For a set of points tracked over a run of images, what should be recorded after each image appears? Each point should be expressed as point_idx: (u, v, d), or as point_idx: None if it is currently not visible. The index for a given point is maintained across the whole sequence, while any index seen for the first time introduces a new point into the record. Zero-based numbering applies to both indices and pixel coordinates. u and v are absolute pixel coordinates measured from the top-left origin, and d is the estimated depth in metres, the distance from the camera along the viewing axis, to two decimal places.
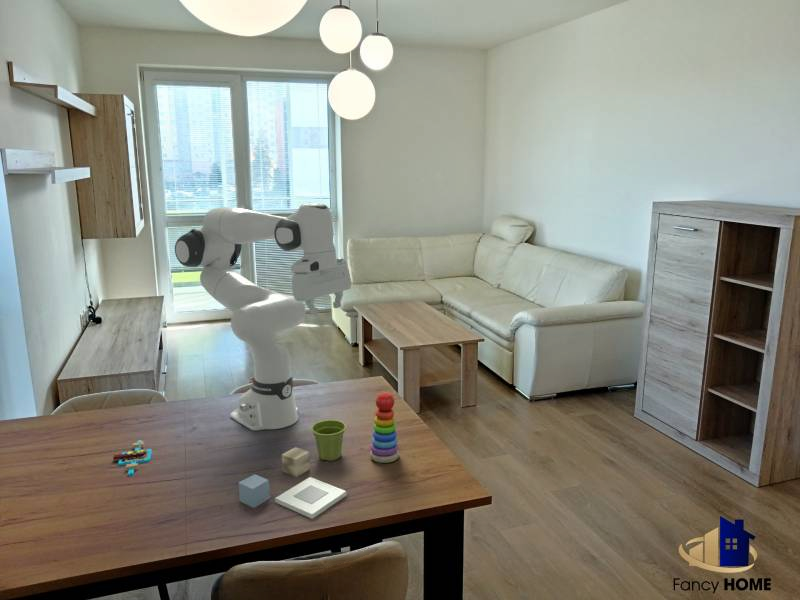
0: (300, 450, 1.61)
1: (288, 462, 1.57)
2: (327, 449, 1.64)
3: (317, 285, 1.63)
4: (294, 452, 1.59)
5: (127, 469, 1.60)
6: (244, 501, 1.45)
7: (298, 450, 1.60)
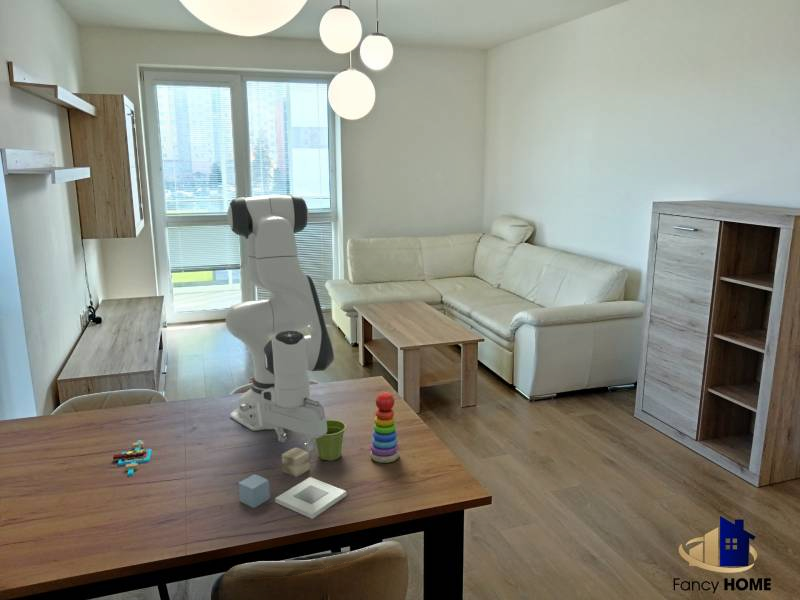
0: (300, 450, 1.61)
1: (288, 462, 1.57)
2: (327, 449, 1.64)
3: (277, 415, 1.57)
4: (294, 452, 1.59)
5: (127, 469, 1.60)
6: (244, 501, 1.45)
7: (298, 450, 1.60)
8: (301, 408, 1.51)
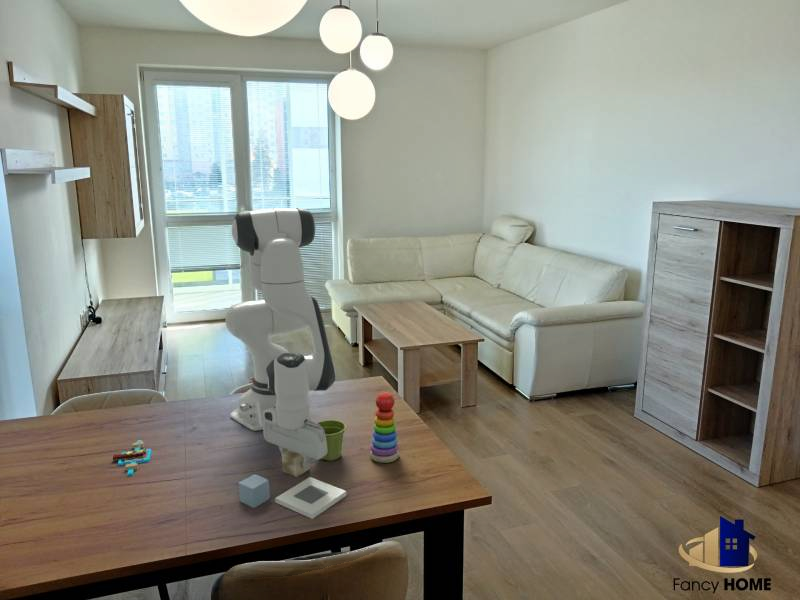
0: None
1: (288, 461, 1.57)
2: (327, 449, 1.64)
3: (278, 435, 1.59)
4: (294, 452, 1.59)
5: (127, 469, 1.60)
6: (244, 501, 1.45)
7: None
8: (302, 430, 1.53)
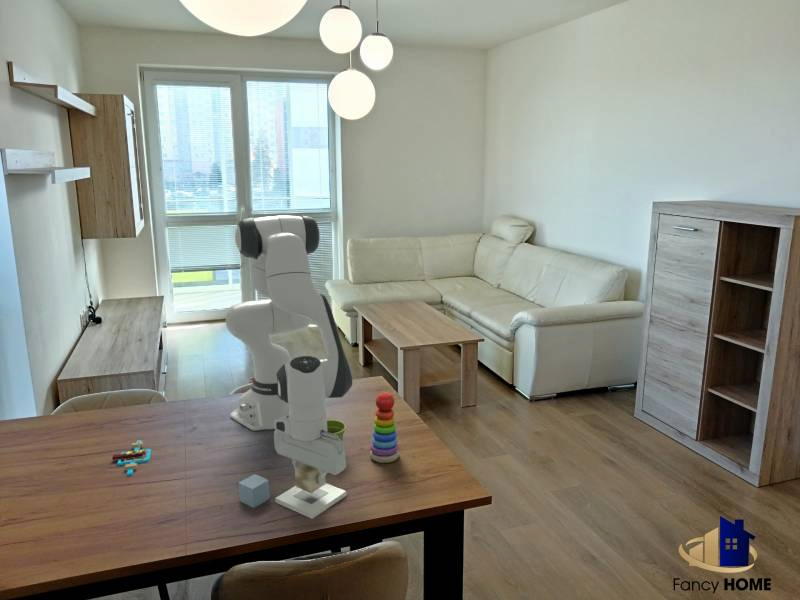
0: None
1: (302, 476, 1.43)
2: None
3: (291, 447, 1.44)
4: (308, 465, 1.45)
5: (126, 469, 1.60)
6: (244, 501, 1.45)
7: None
8: (318, 441, 1.39)
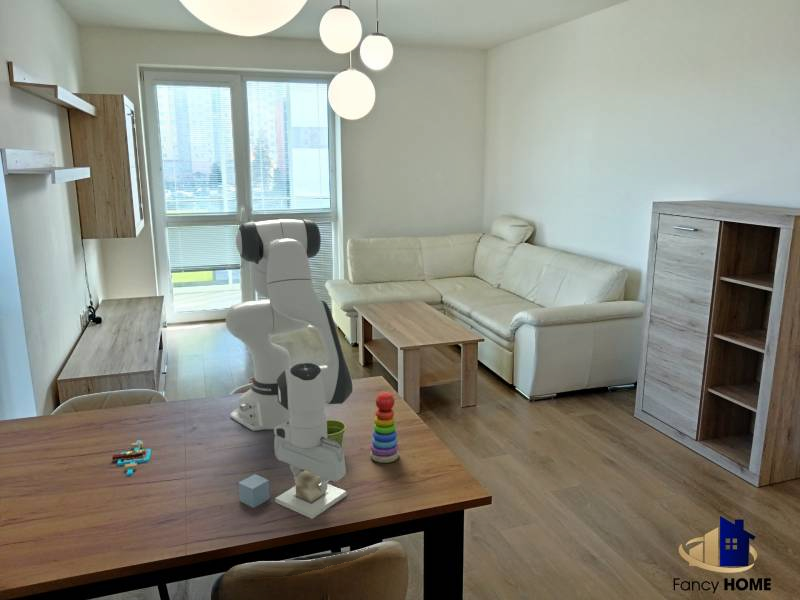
0: None
1: (302, 485, 1.44)
2: None
3: (291, 453, 1.45)
4: (308, 474, 1.45)
5: (126, 469, 1.60)
6: (244, 501, 1.45)
7: None
8: (318, 448, 1.39)
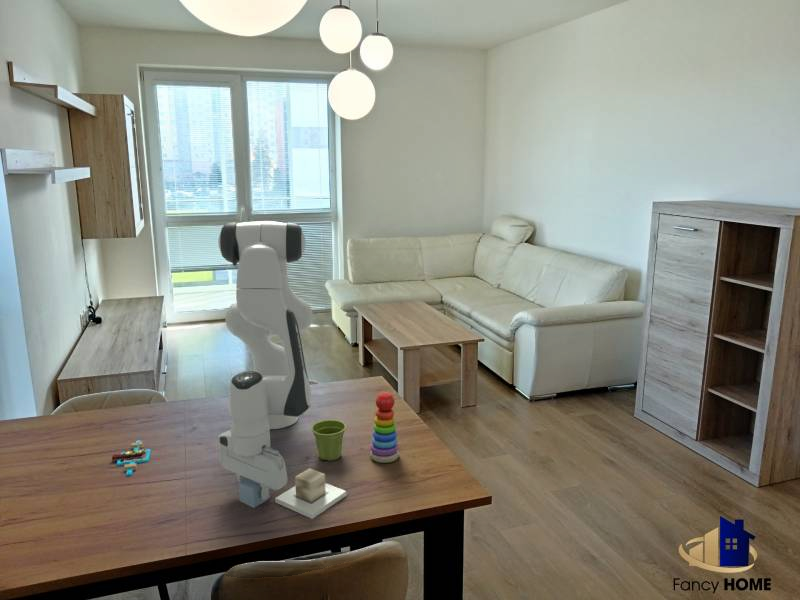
0: (315, 471, 1.47)
1: (302, 485, 1.44)
2: (327, 449, 1.64)
3: (234, 461, 1.45)
4: (308, 474, 1.45)
5: (126, 469, 1.60)
6: (244, 501, 1.45)
7: (313, 472, 1.46)
8: (259, 457, 1.39)
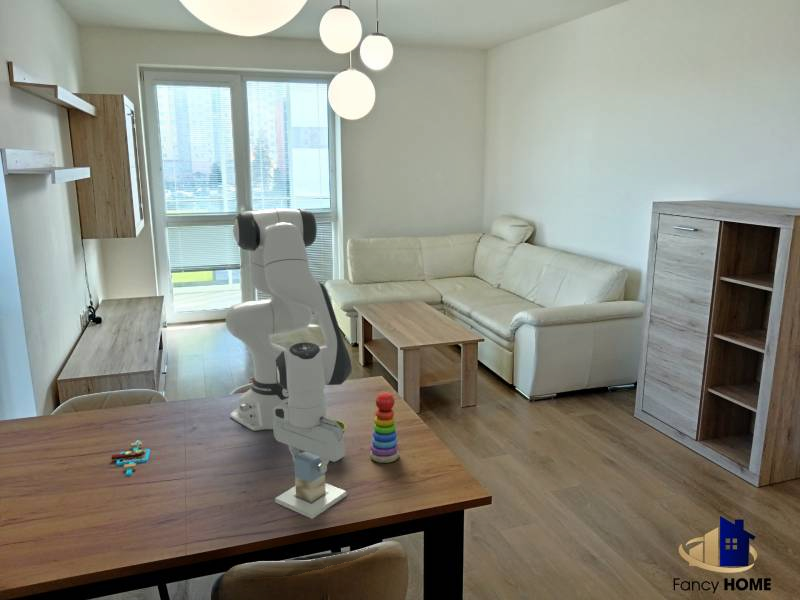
0: None
1: (302, 485, 1.44)
2: None
3: (290, 434, 1.44)
4: None
5: (125, 469, 1.60)
6: (299, 476, 1.43)
7: None
8: (317, 428, 1.38)
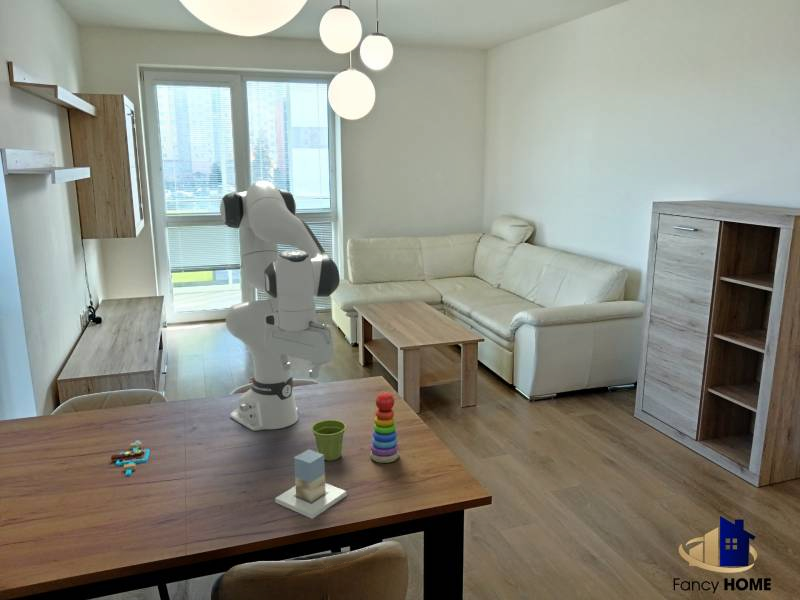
0: None
1: (302, 485, 1.44)
2: (327, 449, 1.64)
3: (280, 341, 1.47)
4: None
5: (125, 469, 1.60)
6: (299, 476, 1.43)
7: None
8: (306, 332, 1.41)
